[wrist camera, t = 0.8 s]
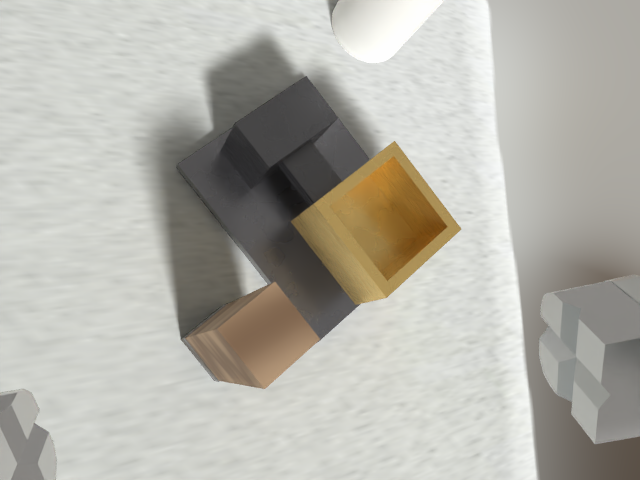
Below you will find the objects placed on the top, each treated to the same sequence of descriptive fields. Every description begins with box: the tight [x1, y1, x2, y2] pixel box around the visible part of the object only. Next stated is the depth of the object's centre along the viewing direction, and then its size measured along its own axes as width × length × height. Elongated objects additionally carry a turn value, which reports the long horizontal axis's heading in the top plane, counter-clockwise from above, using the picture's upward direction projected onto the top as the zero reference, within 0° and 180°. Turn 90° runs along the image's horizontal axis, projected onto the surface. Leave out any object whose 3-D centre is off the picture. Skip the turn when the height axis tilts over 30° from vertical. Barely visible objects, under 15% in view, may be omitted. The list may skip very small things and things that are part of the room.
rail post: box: [181, 282, 320, 389], centre depth 39 cm, size 4×4×16 cm
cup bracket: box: [177, 76, 461, 342], centre depth 46 cm, size 18×14×10 cm
